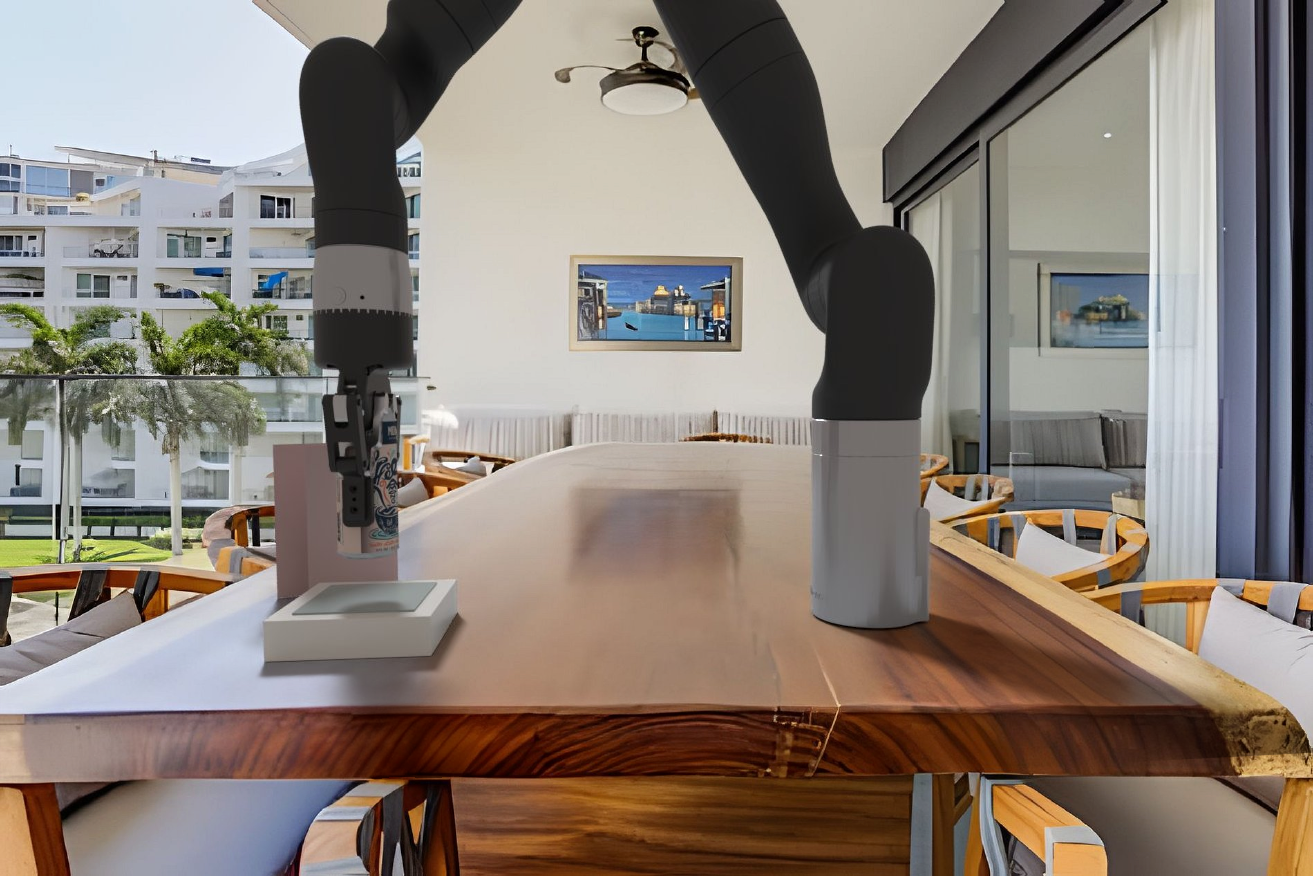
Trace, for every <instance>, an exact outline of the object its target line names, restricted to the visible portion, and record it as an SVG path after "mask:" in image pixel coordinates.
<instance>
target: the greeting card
mask: <svg viewBox="0 0 1313 876" xmlns="http://www.w3.org/2000/svg"><path fill="white" fill-rule="evenodd" d="M272 460H273V461H272V464H273V466H272V467H273V494H274V495H273V498H274V500H273V501H274V502H273V503H274V528H275V530H274V531H275V561H276V563H275V565H276V591H277V592H276V594H277V597H276V598H277V599H285V598H292V597H299V596H301V595H302V594H304V593H305V592H307V591H308V590H310V589H311V588H313V587H314V586H316V585H317V584H319V583H333V582H370V581H399V562H398V561H399V560H398V559H399V558H398V550H396V551H395V552H393V553H392V554H391V555H389V556H386V557H382V558H376V559H361V560H356V559H348V558H345V557H344V556H343V555H341V554H339V553H338V552H337V550H338V534H337V494H336V472H331V471H330V468H329V459H328V451H327V442H321V443H320V442H317V443H315V442H314V443H281V444H278V443H277V444H272Z"/></svg>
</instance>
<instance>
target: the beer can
mask: <svg viewBox="0 0 1313 876" xmlns="http://www.w3.org/2000/svg"><path fill="white" fill-rule="evenodd" d="M396 421H397V419H396V418H395V416H394V415H393V413H392V410H391V408H388V413H387V415H384V417H383V445H382V448H381V449H380V450H378V451H376V453H375V465H374V468H375V473H374V476H373V478H374V523H373V524H372V525H370V526H368V527H346V526H345V525H344V524H343V510H342V480H343V479H339V478H338V474H337V472H336V494H337V534H338V550H337V552H338V553H339V554H341V555H343V556H344V557H345V558H348V559H356V560H361V559H376V558H382V557H386V556H389V555H391V554H392V553H393V552H395V551H396V550H397V551H398V550H399V548H400V542H399V541H400V539H399V538H400V535H399V534H400V533H399V496H398V495H399V494H398V493H399V489H398V488H399V487H398V462H397V435H396ZM372 431H373V428H372V429H371V430H368V431H364V433H365V437H368V436H370V435H371V434H372ZM349 456H355V449H351V450H350V451H349ZM373 478H368V479H373Z"/></svg>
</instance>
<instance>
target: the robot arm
mask: <svg viewBox="0 0 1313 876" xmlns="http://www.w3.org/2000/svg"><path fill="white" fill-rule="evenodd" d="M523 1H524V0H388V2H387V6H386V25H385V28H384V30H383V32H382V34H381V36H380V37H379V38H378V40H377V41H376V42H375V44H374V45H373V46H372V45H371V44H369V43H368V42H366V41H364V40H362V39H360V38H356V37H353V36H348V35H336V36H331V37H328V38H325V39H324V40H321V41H320V42H318V43H317V44H315V46H314V47H313V48H312V49H311V50H310V51H309V53H308V54H307V56H306V58H305V60H304V61H303V65H302V67H301V71H300V77H299V86H298V100H299V101H298V103H299V105H298V106H299V113H300V121H301V126H302V132H303V141H304V144H305V150H306V155H307V161H308V166H309V171H310V175H311V179H312V185H313V190H314V191H313V192H314V200H313V201H314V203H313V223H314V224H313V230H314V231H313V232H314V260H313V268H312V275H311V276H312V279H311V288H312V292H311V293H312V297H311V298H312V327H313V331H312V333H313V335H312V336H313V362H314V365H315V366H316V367H317V368H318V369H321V370H326V371H328V370H329V371H338V377H337V378H338V379H337V387H336V392H335V393H331V394H330V393H329V394H327V393H325V394H323V396H322V398H321V406H322V415H323V424H324V431H325V432H324V433H325V440H326V441H325V443H327V451H328V459H329V468H330V471H331V472H337V474H338V478H339V479H343V480H342V510H343V524H344V525H345V526H346V527H368V526H370V525H372V524H373V523H374V478H373V476H374V473H375V468H374V465H375V453H376V451H378V450H380V449H381V448H382V445H383V417H384V415H387V413H388V408H391V410H392V413H393V415H394V416H395V418H396V419H397V421H396V435H397V463H398V462H399V459H400V458H401V457H400V456H401V454H400V441H401V439H400V438H401V416H402V415H401V414H402V405H403V400H402V398H401V396H400V395H396V393H395V392H392V388H391V387H392V386H391V379H390V373H391V372H392V371H408V370H410V369H411V368H413V366H414V364H415V357H414V353H415V352H414V351H415V349H414V346H415V345H414V344H415V343H414V308H413V307H414V305H413V304H414V301H413V300H414V299H413V280H412V274H411V269H410V267H411V266H410V260H409V259H410V258H409V221H408V219H409V218H408V207H407V206H408V205H407V199H406V195H405V192H404V189H403V186H402V184H401V182H400V179H399V176H398V166H397V150H399V149H400V148H401V147H403V146H404V145H405V144H406V143H407V142H409V141H410V140H411V138H412V137H414V135H415V134H416V133H417V132H418V130H419V129H420V128H421V127H422V125H423V124H424V123H425V121H426V120H427V119H428V117H429V116H430V114H431V113H432V111H433V110H434V108H435V107H436V106H437V103H438V102H439V100H440V99H441V98H442V96H443V95H444V93H445V91H446V90H447V88H448V87H449V84H450V83H451V81H452V80H453V78H454V77H455V76H456V73H457V72H458V71H459V70H460V69H461V68H462V67H463V66H464V65H466V64H467V63H468V62H469V61H470V59H472V58H473V57H474V56H475V55H476V54H477V52H479V51H480V50H481V48H483V47H484V46H485V44H487V42H488V41H489V40H490V39H491V38H492V37H493V36H494V35H495V34H496V33H497V32H498V31H499V30H500V29H501V28H502V27H503V26H504V25H505V24H506V22H508V20H510V18H511V17H512V16H513V14H515V12H516V11H517V9H518V8H519V7H520V6H521V4H522V3H523ZM652 2H653V5H654V7H655V9H656V11H657V14H658V15H659V18H660V20H661V22H662V24H663V26H664V28H665V30H666V32H667V34H668V35H669V38H670V39H671V42H672V43H673V46H674V48H675V49H676V52H677V53H678V55H679V57H680V59H681V61H682V63H683V65H684V67H685V70H686V72H687V74H688V77H689V78H690V81H691V84H693V86H694V88H695V91H696V92H697V94H698V97H700V100H701V102H702V104H703V106H704V108H705V110H706V112H707V113H708V115H709V117H710V118H711V121H712V123H714V126H715V127H716V129H717V131H718V133H719V134H720V136H721V138H722V139H723V141H724V143H725V145H726V147H727V148H728V150H729V153H730V154H731V156H732V158H733V159H734V160H733V161H734V162H735V163H736V165H737V167H738V169H739V172H740V173H741V175H742V176H743V178H744V180H745V182H746V184H747V186H748V187H749V189H750V191H751V193H752V194H753V196H754V197H755V199H756V201H757V203H758V204H759V206H760V208H761V209H762V211H763V213H764V215H765V216H766V220H767V222H768V224H769V225H770V228H771V230H772V233H773V234H774V236H775V239H776V241H777V243H778V244H777V245H778V246H779V249H780V251H781V253H782V256H783V258H784V261H785V265H786V266H787V269H788V271H789V273H790V276H791V279H792V281H793V285H794V287H795V290H796V292H797V294H798V297H799V300H800V302H801V305H802V307H803V309H804V311H805V313H806V315H807V317H808V318H809V320H810V322H811V323H813V325H814V326H815V327H816V329H817V330H819V331H820V332H822V333H823V334H824V335H825V339H824V341H825V343H824V344H825V345H824V361H823V365H822V370H821V374H820V376H819V379H818V381H817V382H816V384H815V387H814V388H813V390H812V395H811V418H812V419H811V491H810V492H811V494H810V495H811V496H810V497H811V504H810V505H811V509H810V511H811V516H810V517H811V522H810V524H811V526H810V527H811V528H810V531H811V532H810V534H811V542H810V550H811V551H810V552H811V553H810V556H811V557H810V567H811V568H810V569H811V571H810V572H811V574H810V577H811V578H810V596H811V597H810V607H811V608H810V612H811V613H812V615H814V616H815V617H817V618H819V619H821V620H823V621H826V622H829V623H832V624H837V625H842V626H848V627H853V628H854V627H856V628H867V629H869V628H870V629H887V628H888V629H889V628H890V629H891V628H899V627H904V626H908V625H911V624H914V623H918V622H928V621H930V559H931V558H930V555H931V553H930V552H931V549H930V548H931V547H930V545H931V513H930V511H929V509H928V508H926V507H924V506H923V507H922V506H921V490H922V489H921V487H922V485H921V482H922V481H921V480H922V479H921V478H922V475H921V467H922V466H921V465H922V457H921V456H922V453H921V452H922V419H921V418H922V415H923V414H922V412H923V411H922V408H923V400H924V397H925V395H926V392H927V389H928V387H929V384H930V382H931V375H932V369H933V368H932V367H933V366H932V365H933V352H934V333H935V318H936V317H935V316H936V315H935V312H936V310H935V309H936V286H935V274H934V270H933V266H932V262H931V260H930V257H929V255H928V253H927V251H926V249H925V247H924V246H923V244H922V243H921V242H920V241H919V240H918V239H917V238H916V237H915V236H914V235H913V234H912V233H910V232H908V231H906V230H904V229H902V228H901V227H896V226H894V225H884V224H881V225H879V224H878V225H872V226H867V227H863V226H862V223H860V221H859V219H858V217H857V216H856V214H855V212H854V209H852V207H851V205H850V203H849V201H848V200H847V197H846V195H845V193H844V191H843V189H842V187H841V183H840V181H839V179H838V176H837V174H836V170H835V167H834V163H833V158H832V152H831V147H830V142H829V141H830V140H829V135H828V131H827V130H828V129H827V124H826V123H827V122H826V118H825V113H824V107H823V101H822V97H821V93H820V89H819V84H818V81H817V78H816V75H815V72H814V70H813V67H812V65H811V63H810V60H809V58H808V56H807V54H806V52H805V50H804V49H803V46H802V44H801V42H800V39H799V38H798V36H797V34H796V32H795V30H794V28H793V26H792V25H791V22H790V20H789V19H788V17H787V15H786V14H785V11H784V10H783V9H782V7H781V5H780V3H779V2H778V0H652ZM372 428H373V431H372V434H371V435H370V436H368V437H365V433H364V431H368V430H371V429H372ZM351 449H355V456H349V451H350V450H351ZM368 478H373V479H368Z"/></svg>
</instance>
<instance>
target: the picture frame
mask: <svg viewBox="0 0 1313 876" xmlns="http://www.w3.org/2000/svg"><path fill="white" fill-rule="evenodd" d="M458 600H459V599H458V579H457V578H456V579H455V578H451V579H448V578H447V579H418V580H417V579H415V580H398V581H370V582H333V583H319V584H317V585H316V586H314V587H313V588H311V589H310V590H308V591H307V592H305V593H304V594H302V595H301V596H297V597H296V598H294V600H292V601H290V602H289V603H288V604H287V605H285V606H283V607H282V608H280V609H279V610H278V611H276V612H275V613H273V614H271V615H270V616H269V617H267V618H266V619H264V620H263V621H262V632H263V633H262V635H263V636H262V637H263V638H262V639H263V662H269V663H270V662H291V661H293V662H294V661H295V662H297V661H318V660H319V661H321V660H322V661H323V660H353V659H378V658H379V659H380V658H381V659H382V658H403V657H405V658H407V657H408V658H409V657H410V658H411V657H432V655H433V653H434V652H435V650H436V649H437V647H438V645H439V643H440V642H441V640H442V639H443V637H444V635H445V634H446V632H447V630H448V629H449V627H450V626H451V624H452V622H453V621H454V619H455V617H456V616H457V613H458V612H459V611H458V610H459V609H458V608H459V607H458V603H459V602H458ZM452 620H453V621H452ZM449 625H450V626H449Z"/></svg>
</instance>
